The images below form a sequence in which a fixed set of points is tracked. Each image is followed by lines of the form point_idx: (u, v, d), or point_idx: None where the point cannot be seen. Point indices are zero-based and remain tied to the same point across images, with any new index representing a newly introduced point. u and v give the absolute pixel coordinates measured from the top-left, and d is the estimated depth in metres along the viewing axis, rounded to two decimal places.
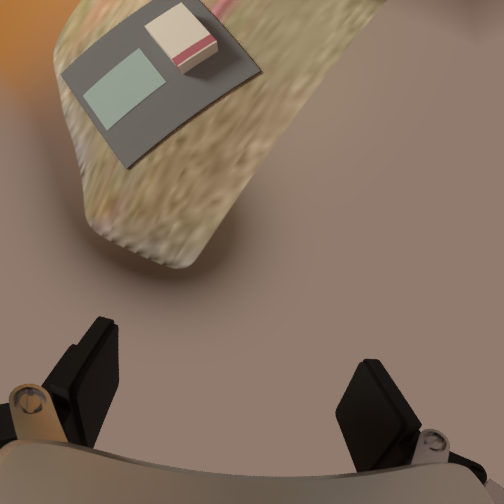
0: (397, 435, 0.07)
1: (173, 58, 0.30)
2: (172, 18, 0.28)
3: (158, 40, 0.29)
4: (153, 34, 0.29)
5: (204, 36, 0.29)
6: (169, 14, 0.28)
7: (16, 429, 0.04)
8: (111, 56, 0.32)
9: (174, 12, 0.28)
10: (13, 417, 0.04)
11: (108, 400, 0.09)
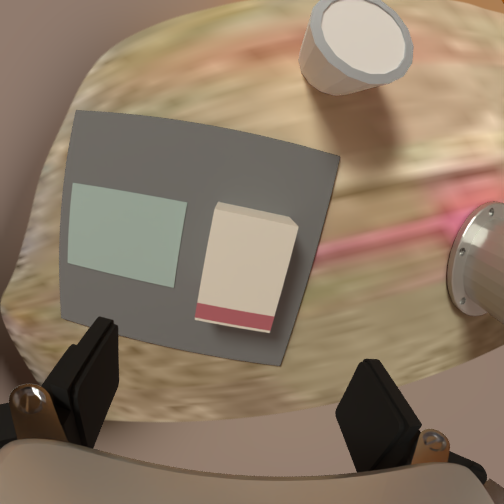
0: (397, 435, 0.07)
1: (199, 304, 0.21)
2: (259, 242, 0.20)
3: (207, 257, 0.20)
4: (211, 239, 0.20)
5: (264, 313, 0.21)
6: (263, 230, 0.20)
7: (16, 429, 0.04)
8: (146, 169, 0.22)
9: (272, 236, 0.20)
10: (13, 417, 0.04)
11: (108, 400, 0.09)
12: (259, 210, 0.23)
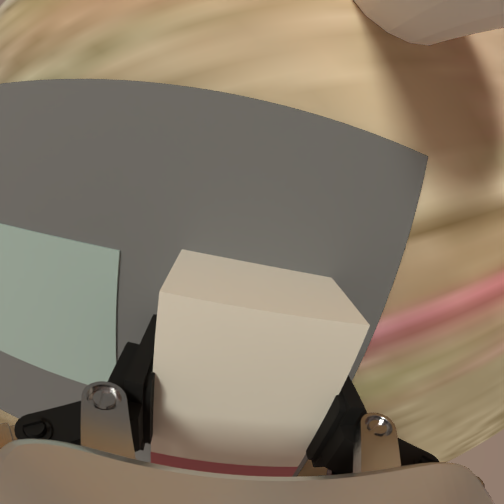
0: (338, 416, 0.08)
1: (155, 453, 0.09)
2: (275, 364, 0.08)
3: (157, 390, 0.08)
4: (160, 358, 0.08)
5: (279, 465, 0.09)
6: (287, 339, 0.08)
7: (82, 421, 0.05)
8: (43, 185, 0.09)
9: (308, 349, 0.08)
10: (82, 409, 0.06)
11: None
12: (270, 266, 0.11)
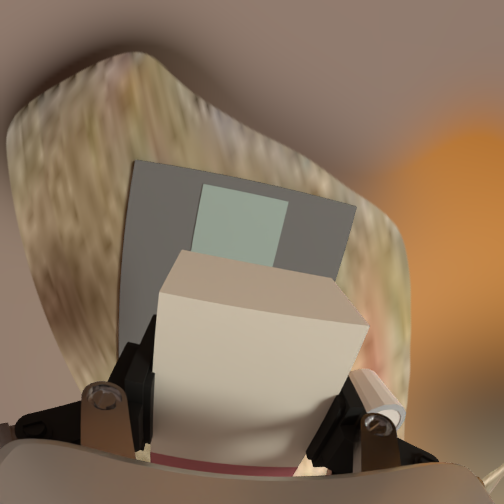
0: (338, 416, 0.08)
1: (155, 454, 0.09)
2: (275, 364, 0.08)
3: (157, 391, 0.08)
4: (160, 358, 0.08)
5: (279, 465, 0.09)
6: (287, 339, 0.08)
7: (82, 421, 0.05)
8: None
9: (307, 350, 0.08)
10: (82, 409, 0.06)
11: None
12: (270, 267, 0.11)
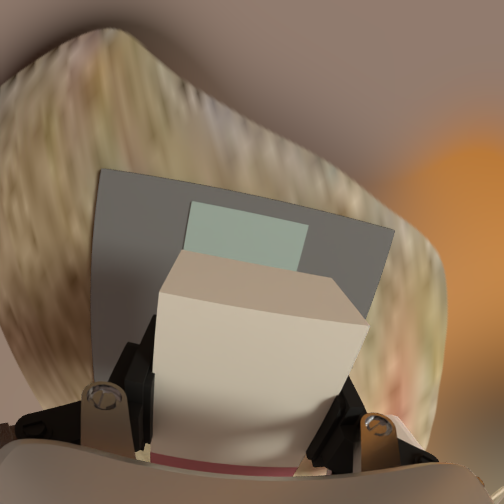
0: (338, 416, 0.08)
1: (155, 454, 0.09)
2: (275, 364, 0.08)
3: (157, 391, 0.08)
4: (160, 358, 0.08)
5: (279, 465, 0.09)
6: (287, 339, 0.08)
7: (82, 421, 0.05)
8: None
9: (307, 350, 0.08)
10: (82, 409, 0.06)
11: None
12: (270, 267, 0.11)
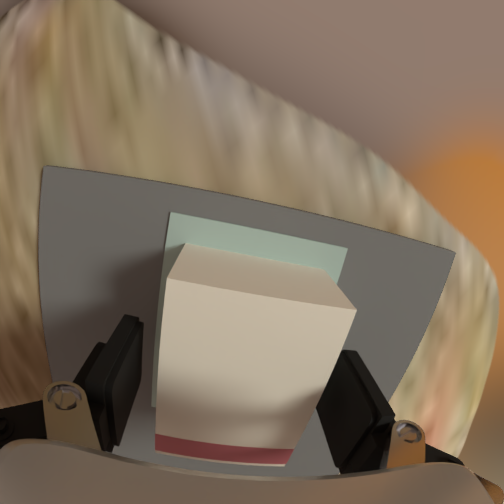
0: (370, 425, 0.08)
1: (159, 435, 0.10)
2: (270, 345, 0.09)
3: (163, 371, 0.09)
4: (166, 340, 0.09)
5: (277, 447, 0.10)
6: (281, 321, 0.09)
7: (46, 423, 0.05)
8: None
9: (300, 332, 0.09)
10: (45, 411, 0.05)
11: (133, 396, 0.10)
12: (267, 259, 0.12)
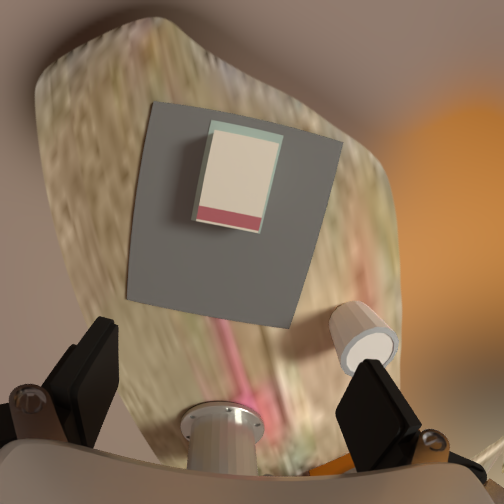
0: (397, 435, 0.07)
1: (200, 206, 0.26)
2: (248, 155, 0.25)
3: (208, 167, 0.25)
4: (211, 152, 0.25)
5: (253, 214, 0.27)
6: (252, 145, 0.25)
7: (16, 429, 0.04)
8: (286, 202, 0.30)
9: (258, 150, 0.25)
10: (13, 417, 0.04)
11: (108, 400, 0.09)
12: None
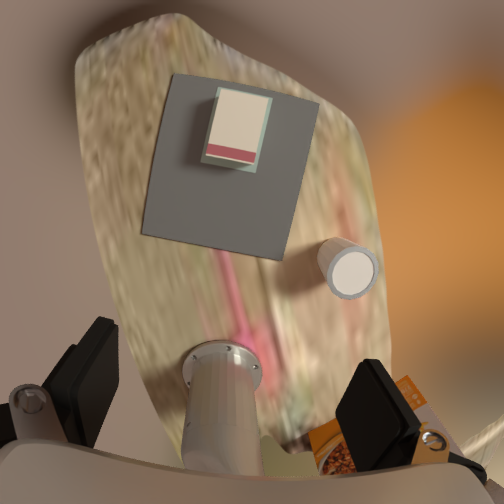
0: (397, 435, 0.07)
1: (209, 144, 0.33)
2: (246, 106, 0.32)
3: (216, 115, 0.32)
4: (218, 104, 0.32)
5: (249, 150, 0.33)
6: (248, 99, 0.32)
7: (16, 429, 0.04)
8: (276, 148, 0.37)
9: (253, 103, 0.32)
10: (13, 417, 0.04)
11: (108, 400, 0.09)
12: None
